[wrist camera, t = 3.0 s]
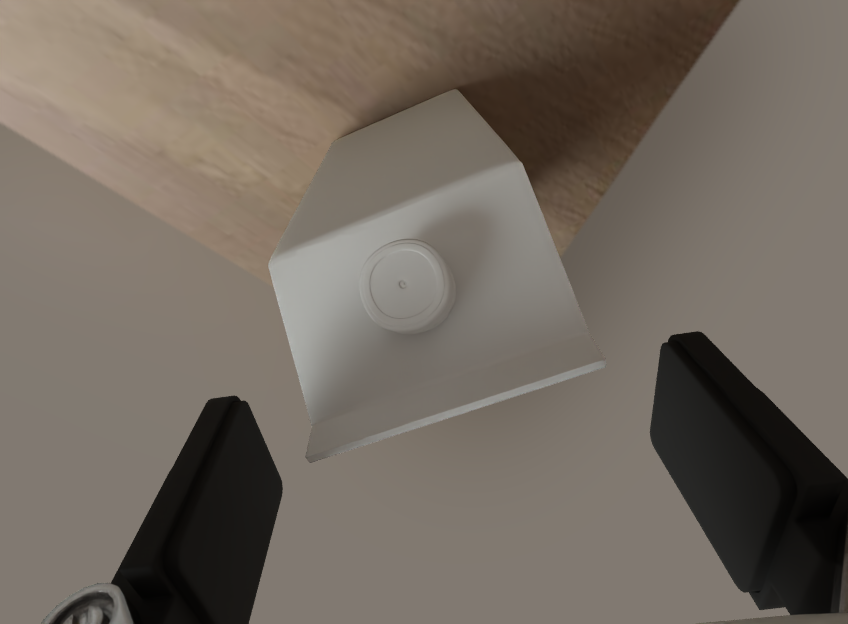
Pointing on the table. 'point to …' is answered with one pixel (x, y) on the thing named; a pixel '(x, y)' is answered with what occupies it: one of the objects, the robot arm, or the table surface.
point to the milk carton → (422, 280)
